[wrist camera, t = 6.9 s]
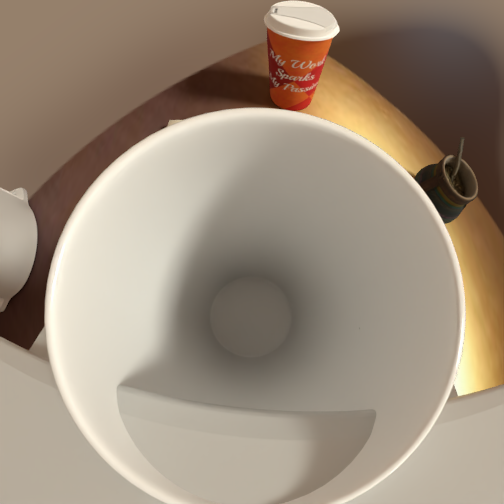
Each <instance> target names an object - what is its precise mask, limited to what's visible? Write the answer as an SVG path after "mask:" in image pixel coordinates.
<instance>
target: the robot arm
mask: <svg viewBox="0 0 504 504" xmlns="http://www.w3.org/2000/svg"><path fill="white" fill-rule="evenodd" d="M36 248H37V224H36V220H35V216H34V214H33V212H32V210H31V208H30V207H29V204H28V197H27V191H26V190H25V189H23V188H18V189H15V190H12V191H10V192H8V191H6V190H4V189H2V188H0V312H3V311H4V310H5V308H6V306H7V304H8V302H9V300H10V299H11V298H12V297H13V296H14V295H15V294H16V293H18V292H19V291H20V290H21V288H22V287H23V286H24V284H25V282H26V281H27V279H28V277H29V274H30V272H31V269H32V266H33V263H34V259H35V254H36ZM359 329H360V328H359ZM117 403H118V409H119V414H120V416H121V419H122V421H123V423H124V426H125V428H126V430H127V432H128V434H129V435H130V437H131V439H132V440H133V442H134V444H135V445H136V447H137V448H138V449H139V451H140V452H141V453H142V454H143V456H144V457H145V458H146V459H147V461H148V462H149V463H150V464H151V465H152V466H153V467H154V468H155V469H156V470H157V471H158V472H160V473H161V474H162V475H163V476H164V477H166V478H167V479H168V480H170V481H171V482H173V483H174V484H175V485H177V486H178V487H180V488H182V489H184V490H186V491H187V492H189V493H191V494H193V495H195V496H198V497H200V498H203V499H206V500H208V501H211V502H215V503H219V504H281V503H285V502H289V501H292V500H294V499H297V498H300V497H302V496H305V495H307V494H309V493H311V492H313V491H315V490H317V489H318V488H320V487H322V486H324V485H325V484H327V483H328V482H329V481H331V480H332V479H333V478H335V477H336V476H337V475H339V474H340V473H341V472H342V471H343V470H344V469H345V468H346V467H347V466H348V465H349V464H350V463H351V462H352V461H353V460H354V459H355V457H356V456H357V455H358V454H359V452H360V451H361V450H362V449H363V447H364V445H365V444H366V442H367V441H368V439H369V437H370V435H371V433H372V429H373V426H374V423H375V419H376V411H375V410H373V409H369V410H354V411H280V410H264V409H252V408H242V407H233V406H224V405H217V404H210V403H203V402H197V401H191V400H186V399H180V398H175V397H170V396H166V395H161V394H156V393H152V392H148V391H144V390H140V389H136V388H132V387H128V386H125V385H121V384H120V385H118V386H117ZM0 504H165V503H163V502H161V501H159V500H157V499H156V498H154V497H152V496H150V495H148V494H146V493H145V492H143V491H142V490H140V489H139V488H137V487H135V486H134V485H132V484H131V483H130V482H128V481H127V480H126V479H125V478H123V477H122V476H121V475H120V474H118V473H117V472H116V471H115V470H114V469H112V468H111V467H110V466H109V465H108V464H107V463H106V462H105V461H104V460H103V459H102V458H101V457H100V456H99V455H98V454H97V452H96V451H95V450H94V449H93V448H92V446H91V445H90V444H89V443H88V442H87V440H86V439H85V438H84V436H83V435H82V433H81V432H80V430H79V429H78V427H77V426H76V424H75V423H74V421H73V419H72V418H71V416H70V414H69V412H68V410H67V408H66V406H65V404H64V402H63V400H62V398H61V395H60V393H59V390H58V388H57V385H56V382H55V379H54V376H53V372H52V369H51V365H50V361H49V356H48V351H47V345H46V336H45V326H44V328H43V329H42V331H41V332H40V334H39V336H38V337H37V339H36V340H35V342H34V343H33V345H32V347H31V348H30V350H26V349H24V348H22V347H20V346H18V345H16V344H14V343H12V342H10V341H8V340H6V339H4V338H2V337H0ZM344 504H504V384H502V385H499V386H496V387H492V388H489V389H485V390H482V391H478V392H474V393H470V394H466V395H462V396H458V395H457V392H456V389H455V386H454V384H453V387H452V390H451V392H450V395H449V397H448V399H447V401H446V403H445V406H444V408H443V410H442V412H441V414H440V415H439V417H438V419H437V420H436V422H435V424H434V425H433V427H432V428H431V430H430V431H429V433H428V434H427V436H426V437H425V438H424V440H423V441H422V442H421V443H420V445H419V446H418V447H417V448H416V450H415V451H414V452H413V453H412V454H411V455H410V456H409V457H408V458H407V459H406V460H405V461H404V462H403V463H402V464H401V465H400V466H399V467H398V468H397V469H396V470H395V471H394V472H392V473H391V474H390V475H389V476H388V477H386V478H385V479H384V480H382V481H381V482H380V483H378V484H377V485H375V486H374V487H373V488H371V489H369V490H368V491H366V492H365V493H363V494H361V495H359V496H358V497H356V498H354V499H352V500H350V501H348V502H346V503H344Z"/></svg>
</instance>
